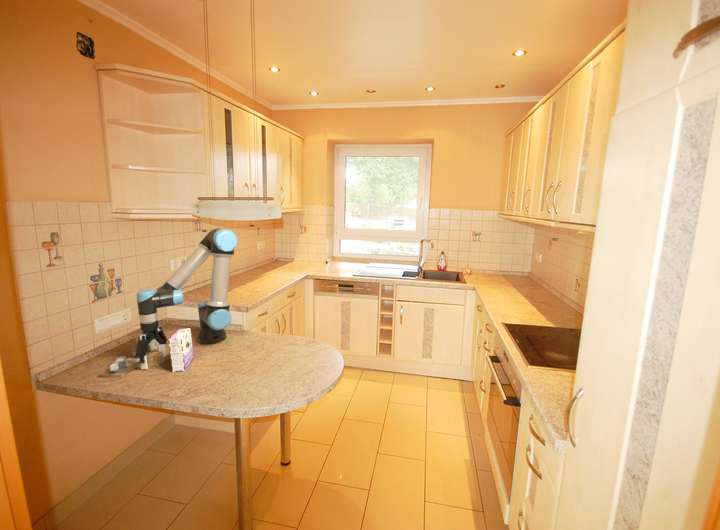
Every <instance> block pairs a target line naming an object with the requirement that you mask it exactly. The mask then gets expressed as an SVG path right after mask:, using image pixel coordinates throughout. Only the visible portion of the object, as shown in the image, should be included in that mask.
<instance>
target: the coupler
mask: <svg viewBox="0 0 720 530" xmlns="http://www.w3.org/2000/svg"><path fill="white" fill-rule="evenodd" d="M146 357H147V365H148V367H150V366H151V367H152V366H153V367H157V366H160V365H161V364H162V363H163V362H164V361H165V359H164V358H165V357H163V352H159V351H158V352H150V353H149V354H147V355H146Z"/></svg>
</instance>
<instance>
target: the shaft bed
mask: <svg viewBox="0 0 720 530" xmlns="http://www.w3.org/2000/svg"><path fill="white" fill-rule="evenodd" d="M131 349H132V354H131V355H130V356H128V357H127V358H126V356H125V355H124V356H117V357H115V361H111V362H110V363H109V364H108V365H107V368H108V369H106V370H104V371H103V372H100V374H99V373H98V375H97V377H98V378H122V377H124V376H125V375H127V374H128V373H130V372H131V371H133V370H134V369H136V368H138V367H139V366H141V363H140V358H139V357H135V355H136V350H137V346H136V347H132V348H131ZM150 352H159V350H158V351H155V350H151V348H150V346H149V345H148V348H147V351H146V354H145V356H146V355H147V354H149V353H150Z"/></svg>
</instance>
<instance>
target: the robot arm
mask: <svg viewBox="0 0 720 530" xmlns="http://www.w3.org/2000/svg"><path fill="white" fill-rule="evenodd" d="M237 237H238V236H237V235H236V234H235V233H234V231H232V230H230V229H227V228H213V229H211V230H210V231H208V233H207V234H206V235H205V236H204V237H203V238H202V240H200V242H199V243H198V247H197V248H196V249H195V250H194V251H193V252H192V253H191V254H190V256H189V257H188V258H187V259H185V260H184V262H183V263H182V264H181V265H180V267H178V269H176V271H174V273H173V274H172V275H171V276H170V277H169V278H168V280H166V281H165V282H164V283H163V284H162V285H161V286H158V288H156V290H155V289H151V288H150V289H147V288H146V289H142V290H139V291H137V292H136V302H137V303H136V304H137V311H138V316H139V322H140V323H139V326H140V331H141V332H142V331H143V335H139V334H138V335H139V336H138V335H137V336H138V342H137V346H136V347H137V350H136V355H135V357H139V358H140V363H141V365H140V369H141V370H148V369H149V366H148V365H147V357H146V356H145V354H146V351H147V348H148V345H149V343H150V342H151V341H152V340H153V339H155V340H156V341H157V342H158V343H159V345H158V346H159V347H158V352H163V358H166V357H167V355H166V354H167V353H166V345H167V342H168V338H167V336H166V335H165V333H164V331H163V328H162V326H159V321H158V319H159V315H158V309H161V308H165V307H166V308H167V307H173V306H178V305H181V304H182V305H183V303H184V301H185V300H184V294H183V290H181V288H182V287H183V286H185V284H186V283H187V282H188V281H189V280H190V279H191V277H192V276H193V275H194V274H195V273H196V272H197V271H198V270H199V268H201V266H202V265H203V264H204V263H205V262H206V261H207V259H209V257H210V256H212V269H211V280H210V281H211V282H210V295H209V300H204V301H200V302H198V304H197V310H198V319H199V327H200V329H199V332H198V339H197V340H198V343H200V344H202V345H211V344H216V342H217V343H220V342H222V341H221V340H223V339H224V340H225V338H226V339H227V332H226V330H225V329H226V328H227V327H228V326H229V325H230V324H231V322H232V313H230V303H229V302H228V292H229V291H228V290H229V278H230V268H231V267H230V266H231V258H232V257H233V256H234V253H235V249H237V248H236V247H237V245H238V242H239V241H238V238H237ZM145 340H147V341H145ZM224 340H223V341H224ZM219 341H220V342H219Z"/></svg>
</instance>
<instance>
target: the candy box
mask: <svg viewBox="0 0 720 530" xmlns="http://www.w3.org/2000/svg"><path fill="white" fill-rule="evenodd" d="M191 330H192V329H191V328H189V327H188V328H179V329H177V330H176V331H175V332H174V333H173V335H171V336H170V338H169V339H168V346H169V354H170V362H171V363H170V364H171V371H172V373H178V372H185V371H187V369H188V368H189V366H190V365H191V363H192V362H193V360H194V359H195V356H194V355H195V354H194V353H195V352H194V347H193V346H194V345H193V338H192V331H191Z"/></svg>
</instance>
